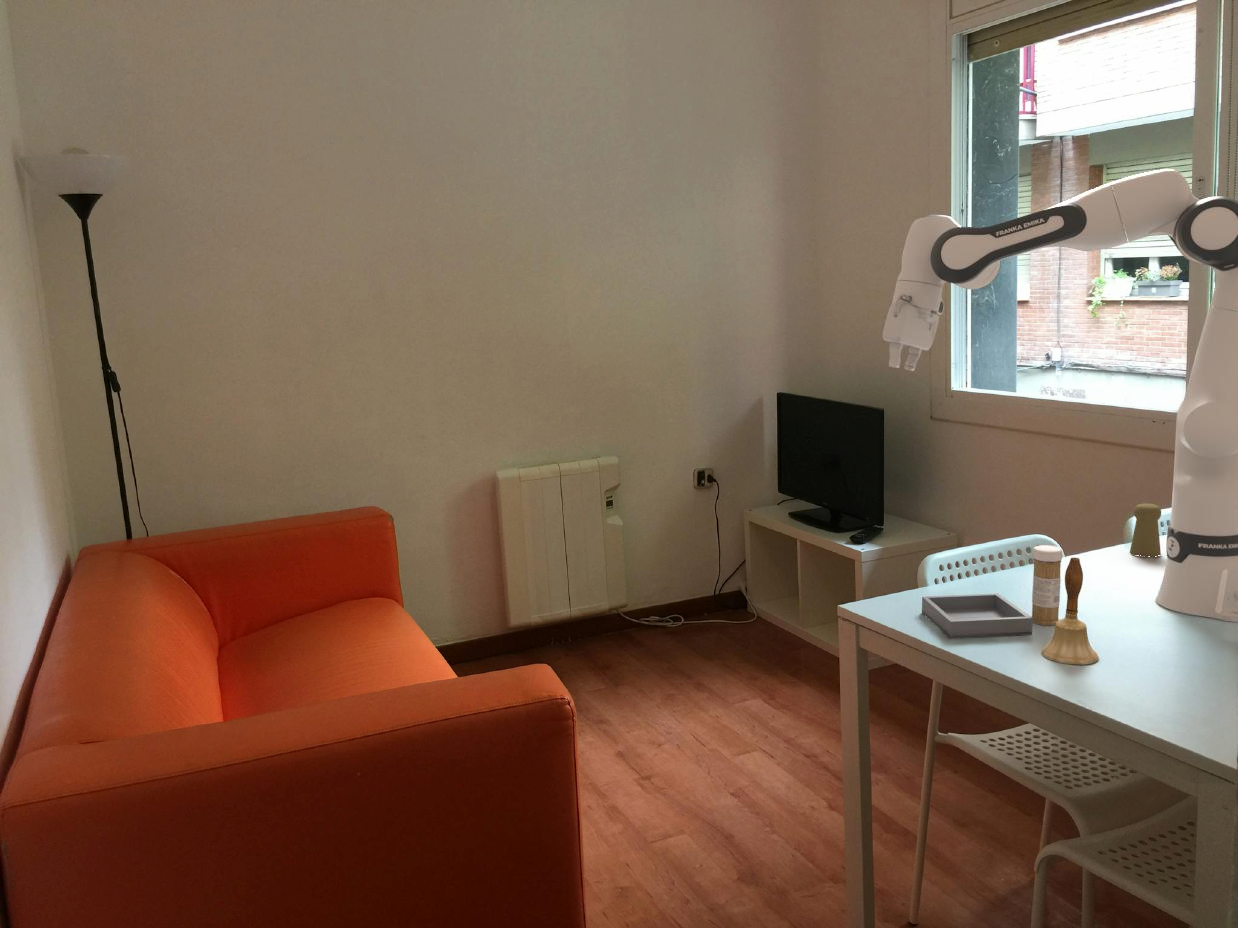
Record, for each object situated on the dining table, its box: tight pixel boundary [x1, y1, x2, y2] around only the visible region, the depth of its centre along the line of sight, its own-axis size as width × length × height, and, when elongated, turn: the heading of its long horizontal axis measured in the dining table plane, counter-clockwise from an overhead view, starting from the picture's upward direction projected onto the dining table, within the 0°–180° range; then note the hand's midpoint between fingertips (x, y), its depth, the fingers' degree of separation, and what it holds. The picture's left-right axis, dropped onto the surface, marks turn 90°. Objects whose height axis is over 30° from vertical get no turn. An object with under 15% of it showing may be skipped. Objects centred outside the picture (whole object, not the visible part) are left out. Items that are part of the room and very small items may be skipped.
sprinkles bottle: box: [1031, 544, 1063, 626], centre depth 170 cm, size 5×5×14 cm
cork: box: [1129, 503, 1162, 558], centre depth 211 cm, size 6×6×11 cm
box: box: [921, 592, 1034, 640], centre depth 171 cm, size 14×14×3 cm
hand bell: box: [1041, 557, 1100, 666], centre depth 154 cm, size 8×8×16 cm
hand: (901, 369), depth 194 cm, fingers open, 8 cm apart
